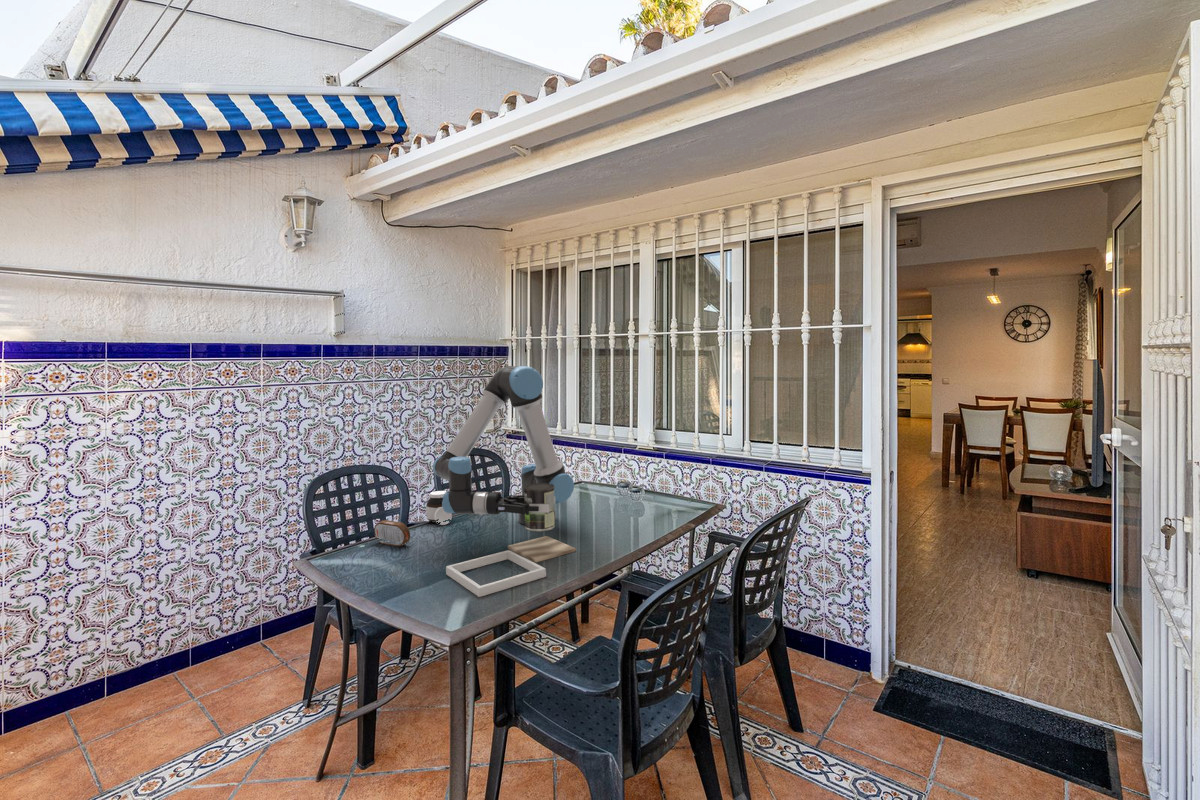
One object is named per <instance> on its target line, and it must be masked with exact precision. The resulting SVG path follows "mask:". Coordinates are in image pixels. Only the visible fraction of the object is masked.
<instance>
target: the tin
mask: <svg viewBox="0 0 1200 800" xmlns="http://www.w3.org/2000/svg"><path fill="white" fill-rule="evenodd" d="M373 529H374V530H373V531H374V537H375V539H376V538H379V539H383V540H386V541H391V542H395V543H390V542H384V541H378V542H379V543H380V544H381V545H387V546H393V547H403V546H405V545H407V544H408V543H409V542H410V540H411V532H410V530H409V527H408V526H407V525H406V524H405V523H403V522H402V521H401V522H400V521H394V520H389V519H388V520H387V519H383V520H381V521H379V522H377V523H376V524H375V525H374V528H373ZM407 542H408V543H407ZM397 543H401V544H397ZM405 543H406V544H405ZM402 544H403V545H402Z"/></svg>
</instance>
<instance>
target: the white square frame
mask: <svg viewBox="0 0 1200 800" xmlns="http://www.w3.org/2000/svg"><path fill="white" fill-rule="evenodd" d="M507 560H509V561H511V562H512V563H514V564H516V565H517V566H520V567H522V568H524V569H525V570H527V572H523V573H520V574H516V575H513V576H510V577H507V578H503V579H500V580H497V581H492V582H489V583H486V584H482V585H480V584H478V583H477V582H476V581H474V580H473V579H472V578H470V577H468V576H466V575H465V574H464V573H462V572H466V571H469V570H473V569H476V568H477V569H478V568H480V567H483V566H486V565H487V566H489V565H492V564H494V563H495V564H496V563H499V562H502V561H507ZM546 571H547V569H546V568H545V567H543V566H541V565H539V564H538V563H537V562H534V561H532V560H530V559H528V558H526V557H524V556H522V555H520V554H518V553H516V552H514V551H512V550H510V549H507V550H504V551H499V552H496V553H492V554H489V555H484V556H482V557H477V558H473V559H468V560H465V561H461V562H459V563H458V562H457V563H453V564H450V565H447V566H445V573H446V574H445V575H446V576H448V577H449V578H451V579H452V580H454V581H455V582H457V583H458V584H460V586H462V587H464V588H465V589H467V590H468V591H470V592H471V593H473V594H474V595H475V596H476V597H479V598H481V597H484V596H487V595H491V594H494V593H498V592H500V591H504V590H507V589H510V588H514V587H516V586H520V585H524V584H526V583H530V582H533V581H536V580H541V579H543V578H545V577H547V572H546Z"/></svg>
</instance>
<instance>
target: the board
mask: <svg viewBox="0 0 1200 800" xmlns="http://www.w3.org/2000/svg"><path fill="white" fill-rule="evenodd" d="M507 550H510V551H512V552H514V553H516V554H518V555H520V556H522V557H524V558H526V559H528V560H530V561H532V562H534V563H539V562H543V561H546V560H550V559H553V558H557V557H560V556H564V555H567V554H571V553H575V552H577V548H576V547H574V546H571V545H570V544H567V543H564V542H562V541H559V540H557V539H556V538H555V539H554V538H552V537H550V536H548V535H545V536H541V537H537V538H532V539H529V540H525V541H521V542H518V543H517V542H516V543H513V544H509V545H508V546H507Z"/></svg>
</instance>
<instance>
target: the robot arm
mask: <svg viewBox="0 0 1200 800" xmlns="http://www.w3.org/2000/svg"><path fill="white" fill-rule="evenodd" d="M542 377H543V376H542V375H541V374H540V372H539V371H538V370H537V369H535V368H533V367H531V366H527V365H518V366H516V365H507V366H504V367H502V368H500V369H499V370H498V371H496V372H495V374H494V375H493V376H492V378H490V380H489V382H488V383H487V385H486V386H485V387H484V388H483V391H482V394H483V395H482V396H481V398H480V400H479V401H478V403H477V404H476V406H475V407H474V409H473V410H472V412H471V413H470V415H469V416H468V417H467V418H466V419H467V420H466V421H465V422H464V424H463V425H462V427H461V428H460V430H459V432H458V433H457V434H456V435H455V437H454V439H453V440H452V441H451V444H450V445H449V446H448V448H447V449H446V451H444V454H443V455H442V456H439V457H438V458H436V459H435V461H434V462H433V463H432V470H433V473H434V474H435V475H436V476H437V477H438V478H440V479H443V480H445V481H447V482H448V483H449V490H448V491H446V493H445V494H444V496H443V501H442V506H443V510H444V511H445V512H446V513H452V514H455V515H463V514H464V515H467V514H468V515H470V514H471V515H479V516H482V515H487V514H488V515H500V513H510V514H518V515H517V516H518V520H517V521H518V523H519V524H521V525H524V526H525V514H526V515H529V512H543V513H549V504H529V505H528V504H525V491H524V486H526V485H529V484H535V483H547V484H552V485H554V505H555V504H563V503H565V502H566V501H568V500H569V499H570V498H571V496H572V494H573V492H574V490H575V489H574V488H575V482H574V479H573V477H572V476H571V475H570V474H569V473H567V472H566V470H565V466H564V464H563V462H562V461H560V460H558V457H557V454H556V451H555V449H554V448H555V447H554V445H553V441H552V438H551V435H550V432H549V428H548V425H547V422H546V419H545V416H544V412H543V408H542V406H541V401H542V399H543V396H542V395H543V394H542V392H543V391H542V389H543V388H544V381H543V378H542ZM508 400H509V401H510V405H511V407H512V408H513V409H515V410H517V412H518V416H519V418H520V422H521V424H522V428H523V430H524V431H523V432H524V435H525V437H526V440H527V444H528V446H529V450H530V454H531V455H532V459H533V462H534V463H531V464H526V465H523V466H522V467H521V472H520V473H521V474H520V477H521V479H520V481H521V494H517V495H516V494H515V495H513V494H512V495H511V494H509V495H508V496H505V497H503V496H502V493H501V492H499V491H490V492H488V491H472V490H473V485H472V478H473V477H472V470H473V469H472V468H473V467H472V460H471V458H470V457H468V456H469V455H470V453H471V451H472V450H473V449H474V447H475V445H476V444H477V442H478V441H479V439H480V438H481V436H482V434H483V433H484V432H485V430H486V429H487V428H488V426H489V425H490V423H491V421H492V419H493V418H494V417H495V415H496V414H497V412H498V411H499V409H500V407H502V406H505V405H506V403H507V402H508ZM556 520H557V514H556V511H555V509H554V522H555V521H556Z"/></svg>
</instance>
